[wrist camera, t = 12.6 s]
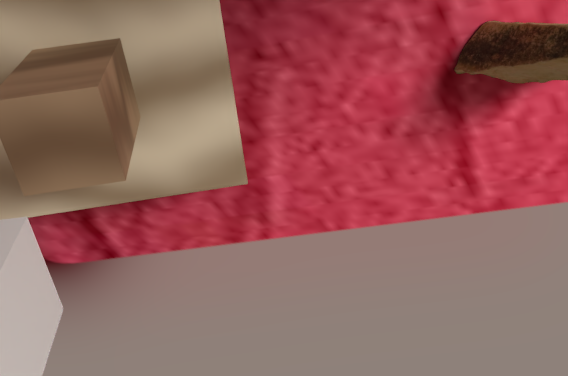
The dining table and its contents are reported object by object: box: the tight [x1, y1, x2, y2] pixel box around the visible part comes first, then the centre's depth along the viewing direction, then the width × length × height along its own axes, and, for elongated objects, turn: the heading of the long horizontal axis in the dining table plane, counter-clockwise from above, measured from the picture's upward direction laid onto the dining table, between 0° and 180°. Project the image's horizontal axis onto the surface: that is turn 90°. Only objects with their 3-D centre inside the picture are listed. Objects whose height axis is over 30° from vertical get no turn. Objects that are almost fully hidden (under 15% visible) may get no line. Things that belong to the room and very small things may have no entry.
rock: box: [454, 21, 568, 83], centre depth 40 cm, size 11×9×10 cm
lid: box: [0, 0, 248, 220], centre depth 29 cm, size 17×17×9 cm
